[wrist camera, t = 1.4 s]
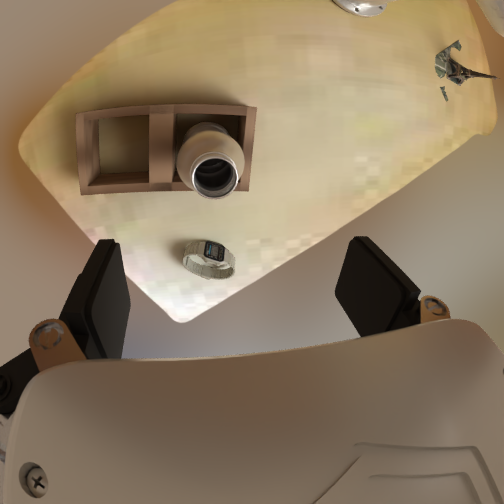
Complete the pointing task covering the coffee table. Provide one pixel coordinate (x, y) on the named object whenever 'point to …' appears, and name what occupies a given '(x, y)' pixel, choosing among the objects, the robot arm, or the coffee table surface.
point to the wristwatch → (209, 260)
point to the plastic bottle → (210, 160)
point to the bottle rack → (153, 147)
